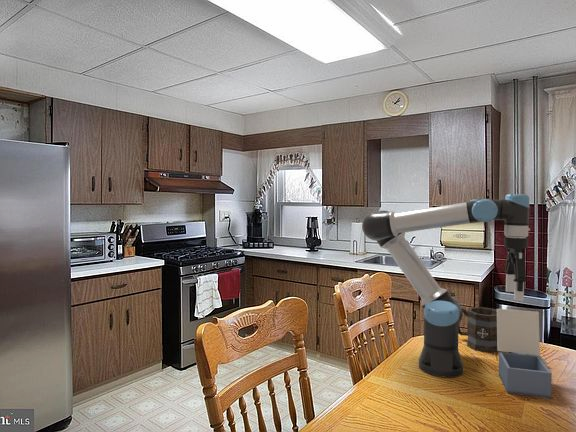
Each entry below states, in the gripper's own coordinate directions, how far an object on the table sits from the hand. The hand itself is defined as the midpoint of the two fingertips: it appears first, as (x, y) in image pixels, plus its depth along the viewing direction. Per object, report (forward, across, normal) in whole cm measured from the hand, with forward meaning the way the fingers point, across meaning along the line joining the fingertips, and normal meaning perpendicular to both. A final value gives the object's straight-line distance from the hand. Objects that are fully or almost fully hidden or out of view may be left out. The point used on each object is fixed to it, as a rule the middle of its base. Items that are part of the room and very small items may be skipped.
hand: (514, 295), depth 143 cm
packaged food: (+27, +8, -7) cm, 29 cm away
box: (+26, -15, 0) cm, 30 cm away
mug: (+27, +21, +9) cm, 35 cm away
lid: (+11, -7, 0) cm, 13 cm away
